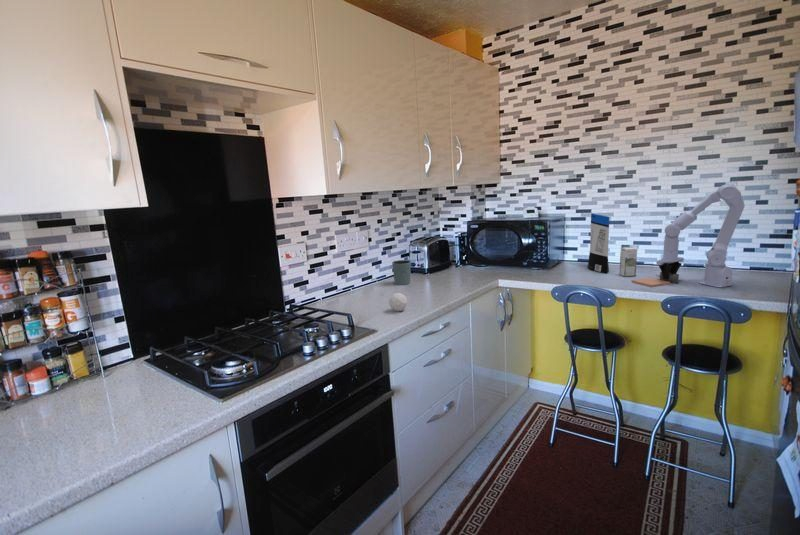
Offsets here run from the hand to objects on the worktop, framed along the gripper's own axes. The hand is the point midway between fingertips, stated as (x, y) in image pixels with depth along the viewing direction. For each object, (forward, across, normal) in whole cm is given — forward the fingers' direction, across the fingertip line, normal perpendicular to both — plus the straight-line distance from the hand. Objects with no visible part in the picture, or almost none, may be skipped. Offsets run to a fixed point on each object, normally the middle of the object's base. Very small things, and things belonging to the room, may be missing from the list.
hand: (668, 278), depth 196 cm
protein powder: (+2, +6, -38) cm, 39 cm away
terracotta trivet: (+2, +9, -2) cm, 9 cm away
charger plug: (+2, 0, 0) cm, 2 cm away
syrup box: (+2, +5, -19) cm, 20 cm away
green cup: (+2, +111, -66) cm, 129 cm away
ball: (+2, +128, -20) cm, 130 cm away
